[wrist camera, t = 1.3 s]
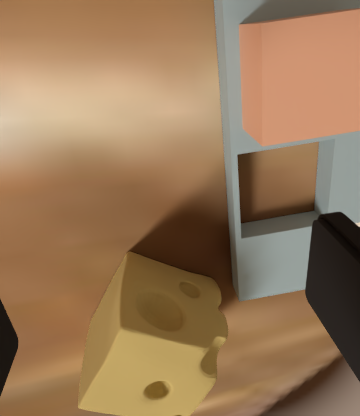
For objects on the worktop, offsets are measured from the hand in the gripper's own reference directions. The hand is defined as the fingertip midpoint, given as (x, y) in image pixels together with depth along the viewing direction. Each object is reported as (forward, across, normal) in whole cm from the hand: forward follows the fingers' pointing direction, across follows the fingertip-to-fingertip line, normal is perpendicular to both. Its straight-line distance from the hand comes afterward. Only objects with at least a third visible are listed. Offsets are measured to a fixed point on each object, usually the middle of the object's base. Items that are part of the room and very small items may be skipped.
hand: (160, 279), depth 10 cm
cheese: (+20, +2, +19) cm, 27 cm away
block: (+17, -11, -3) cm, 20 cm away
